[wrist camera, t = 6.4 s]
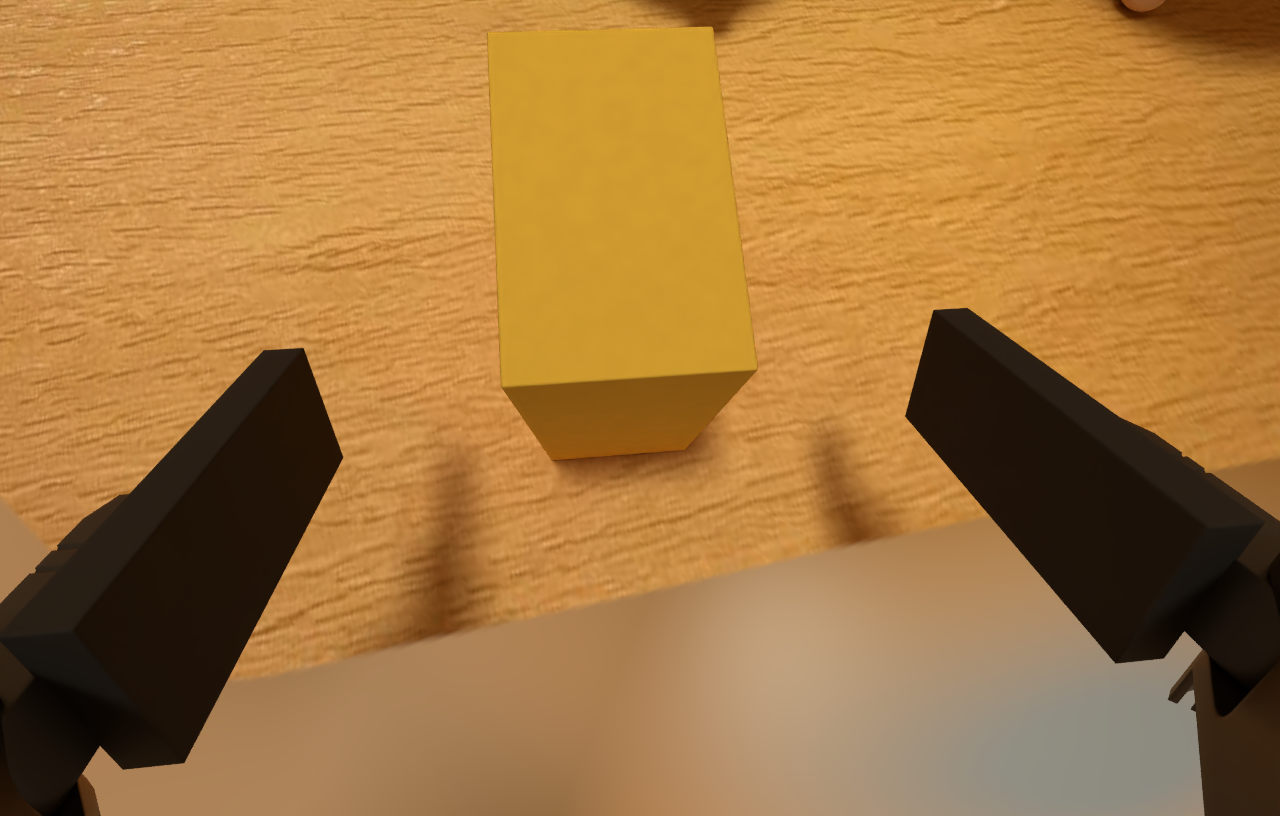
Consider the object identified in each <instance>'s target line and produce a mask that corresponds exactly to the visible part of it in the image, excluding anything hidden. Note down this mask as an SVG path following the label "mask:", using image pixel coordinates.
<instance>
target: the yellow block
mask: <svg viewBox="0 0 1280 816" xmlns="http://www.w3.org/2000/svg"><path fill="white" fill-rule="evenodd" d="M487 47H488V72H489V97H490V123H491V148H492V173H493V198H494V224H495V249H496V274H497V299H498V325H499V350H500V375H501V387H502V388H503V390H504V391H505V393H506V394H507V396H508V397H509V399H510V400H511V402H512V403H513V404H514V406H515V407H516V409H517V410H518V412H519V413H520V415H521V416H522V418H523V419H524V420H525V422H526V423H527V425H528V426H529V428H530V429H531V431H532V432H533V434H534V435H535V436H536V438H537V439H538V441H539V442H540V444H541V445H542V447H543V448H544V450H545V451H546V452H547V454H548V455H549V457H550V458H551V460H562V459H575V458H588V457H600V456H613V455H626V454H639V453H651V452H664V451H677V450H685V449H686V448H687V447H688V446H689V445H690V443H691V442H692V441H693V440H694V439H695V438H696V437H697V436H698V435H699V434H700V432H701V431H702V430H703V429H704V428H705V427H706V426H707V425H708V424H709V423H710V421H711V420H712V419H713V418H714V417H715V416H716V415H717V414H718V413H719V412H720V410H721V409H722V408H723V407H724V406H725V405H726V404H727V403H728V402H729V401H730V399H731V398H732V397H733V396H734V395H735V394H736V393H737V392H738V391H739V390H740V388H741V387H742V386H743V385H744V384H745V383H746V382H747V381H748V380H749V379H750V377H751V376H752V375H753V374H754V373H755V372H756V371H757V369H758V365H757V357H756V350H755V342H754V335H753V327H752V319H751V312H750V304H749V297H748V289H747V282H746V274H745V266H744V259H743V251H742V244H741V236H740V228H739V221H738V213H737V206H736V198H735V191H734V183H733V175H732V168H731V160H730V153H729V145H728V138H727V130H726V122H725V115H724V107H723V100H722V92H721V84H720V77H719V69H718V62H717V54H716V47H715V39H714V31H713V27H678V28H639V29H599V30H560V31H521V32H489V33H488V34H487Z"/></svg>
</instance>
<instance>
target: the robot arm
mask: <svg viewBox="0 0 1280 816" xmlns="http://www.w3.org/2000/svg"><path fill="white" fill-rule="evenodd" d="M905 417H906V418H907V419H908V420H909V421H910V423H911V424H912V425H913V426H914V427H915V428H916V430H917V431H918V432H919V433H920V434H921V436H922V437H923V438H924V439H925V440H926V441H927V443H928V444H929V445H930V446H931V447H932V448H933V450H934V451H935V452H936V453H937V454H938V455H939V457H940V458H941V459H942V460H943V461H944V463H945V464H946V465H947V466H948V467H949V468H950V470H951V471H952V472H953V473H954V474H955V475H956V477H957V478H958V479H959V480H960V481H961V483H962V484H963V485H964V486H965V487H966V488H967V490H968V491H969V492H970V493H971V494H972V495H973V497H974V498H975V499H976V500H977V501H978V503H979V504H980V505H981V506H982V507H983V508H984V510H985V511H986V512H987V513H988V514H989V515H990V517H991V518H992V519H993V520H994V521H995V522H996V524H997V525H998V526H999V527H1000V528H1001V530H1002V531H1003V532H1004V533H1005V534H1006V535H1007V537H1008V538H1009V539H1010V540H1011V541H1012V542H1013V544H1014V545H1015V546H1016V547H1017V548H1018V549H1019V551H1020V552H1021V553H1022V554H1023V555H1024V556H1025V558H1026V559H1027V560H1028V561H1029V562H1030V564H1031V565H1032V566H1033V567H1034V568H1035V569H1036V571H1037V572H1038V573H1039V574H1040V575H1041V577H1042V578H1043V579H1044V580H1045V581H1046V582H1047V584H1048V585H1049V586H1050V587H1051V588H1052V589H1053V591H1054V592H1055V593H1056V594H1057V595H1058V597H1059V598H1060V599H1061V600H1062V601H1063V602H1064V604H1065V605H1066V606H1067V607H1068V608H1069V609H1070V611H1071V612H1072V613H1073V614H1074V615H1075V616H1076V617H1077V619H1078V620H1079V621H1080V622H1081V624H1082V625H1083V626H1084V627H1085V628H1086V629H1087V630H1088V632H1089V633H1090V634H1091V635H1092V636H1093V638H1094V639H1095V640H1096V641H1097V642H1098V644H1099V645H1100V646H1101V647H1102V648H1103V649H1104V651H1106V653H1107V654H1108V655H1109V656H1110V658H1111V659H1112V660H1113V661H1114V662H1115V663H1126V662H1135V661H1144V660H1154V659H1163V658H1164V657H1165V656H1166V655H1167V653H1168V652H1169V651H1170V649H1171V648H1172V647H1173V645H1174V644H1175V643H1176V641H1177V640H1178V639H1179V637H1180V636H1181V635H1182V633H1183V632H1184V631H1185V632H1186V633H1187V634H1188V635H1189V636H1190V637H1191V638H1192V639H1193V640H1194V641H1196V643H1197V644H1198V645H1200V647H1201V648H1202V649H1203V650H1202V651H1201V652H1200V653H1199V655H1198V656H1197V657H1196V658H1195V660H1194V661H1193V662H1192V663H1191V665H1190V666H1189V667H1188V669H1187V670H1186V671H1185V672H1184V674H1183V675H1182V676H1181V678H1180V679H1179V680H1178V681H1177V682H1176V684H1175V685H1174V686H1173V687H1172V689H1171V691H1170V695H1169V698H1168V700H1170V701H1172V702H1175V703H1178V702H1179V701H1180V700H1181V698H1182V697H1183V696H1184V695H1185V694H1186V692H1188V691H1191V690H1194V694H1195V704H1194V705H1193V706H1192V708H1191V710H1193V711H1195V712H1196V718H1197V729H1198V742H1199V754H1200V765H1201V777H1202V789H1203V801H1204V812H1205V816H1280V521H1278V520H1277V519H1275V518H1274V517H1273V516H1271V515H1270V514H1268V513H1267V512H1266V511H1264V510H1263V509H1261V508H1260V507H1259V506H1257V505H1256V504H1254V503H1253V502H1251V501H1250V500H1249V499H1247V498H1246V497H1244V496H1243V495H1241V494H1240V493H1239V492H1237V491H1236V490H1234V489H1233V488H1232V487H1230V486H1229V485H1227V484H1226V483H1224V482H1223V481H1222V480H1220V479H1219V478H1217V477H1216V476H1214V475H1213V474H1212V473H1205V471H1204V470H1205V469H1204V468H1203V467H1202V466H1200V465H1199V464H1197V463H1196V462H1195V461H1193V460H1192V459H1190V458H1189V457H1183V456H1182V452H1180V451H1179V450H1177V449H1176V448H1175V447H1173V446H1172V445H1170V444H1169V443H1168V442H1166V441H1165V440H1163V439H1162V438H1160V437H1159V436H1158V435H1156V434H1155V433H1153V432H1151V431H1148V430H1146V429H1144V428H1142V427H1140V426H1137V425H1135V424H1133V423H1131V422H1129V421H1127V420H1124V419H1122V418H1120V417H1118V416H1117V415H1116V414H1114V413H1113V412H1111V411H1110V410H1109V409H1107V408H1106V407H1105V406H1103V405H1102V404H1100V403H1099V402H1098V401H1096V400H1095V399H1093V398H1092V397H1091V396H1089V395H1088V394H1086V393H1085V392H1084V391H1082V390H1081V389H1079V388H1078V387H1077V386H1075V385H1074V384H1073V383H1071V382H1070V381H1068V380H1067V379H1066V378H1064V377H1063V376H1061V375H1060V374H1059V373H1057V372H1056V371H1054V370H1053V369H1052V368H1050V367H1049V366H1047V365H1046V364H1045V363H1043V362H1042V361H1040V360H1039V359H1038V358H1036V357H1035V356H1034V355H1032V354H1031V353H1029V352H1028V351H1027V350H1025V349H1024V348H1022V347H1021V346H1020V345H1018V344H1017V343H1015V342H1014V341H1013V340H1011V339H1010V338H1008V337H1007V336H1006V335H1004V334H1003V333H1002V332H1000V331H999V330H997V329H996V328H995V327H993V326H992V325H990V324H989V323H988V322H986V321H985V320H983V319H982V318H981V317H979V316H978V315H976V314H975V313H974V312H972V311H971V310H970V309H968V308H959V309H942V310H933V314H932V317H931V321H930V325H929V329H928V333H927V336H926V340H925V344H924V348H923V351H922V355H921V359H920V363H919V366H918V370H917V374H916V378H915V381H914V385H913V389H912V393H911V396H910V400H909V404H908V408H907V411H906V415H905ZM342 459H343V455H342V453H341V450H340V447H339V444H338V442H337V439H336V436H335V433H334V431H333V428H332V425H331V422H330V420H329V417H328V414H327V411H326V409H325V406H324V403H323V400H322V398H321V395H320V392H319V389H318V387H317V384H316V381H315V378H314V376H313V373H312V370H311V367H310V365H309V362H308V359H307V356H306V354H305V351H304V348H296V349H279V350H264V351H263V352H262V353H261V354H260V355H259V356H258V357H257V358H256V359H255V360H254V361H253V362H252V363H251V365H250V366H249V367H248V368H247V369H246V370H245V371H244V372H243V373H242V374H241V375H240V376H239V377H238V378H237V379H236V381H235V382H234V383H233V384H232V385H231V386H230V387H229V388H228V389H227V390H226V391H225V392H224V393H223V394H222V396H221V397H220V398H219V399H218V400H217V401H216V402H215V403H214V404H213V405H212V406H211V407H210V408H209V409H208V411H207V412H206V413H205V414H204V415H203V416H202V417H201V418H200V419H199V420H198V421H197V422H196V423H195V424H194V426H193V427H192V428H191V429H190V430H189V431H188V432H187V433H186V434H185V435H184V436H183V437H182V438H181V439H180V441H179V442H178V443H177V444H176V445H175V446H174V447H173V448H172V449H171V450H170V451H169V452H168V453H167V454H166V456H165V457H164V458H163V459H162V460H161V461H160V462H159V463H158V464H157V465H156V466H155V467H154V468H153V469H152V471H151V472H150V473H149V474H148V475H147V476H146V477H145V478H144V479H143V480H142V481H141V482H140V483H139V484H138V486H137V487H136V488H135V489H134V490H133V491H132V492H131V493H130V494H125V495H119V496H117V497H116V498H114V499H113V500H111V501H110V502H108V503H107V504H105V505H104V506H102V507H100V508H99V509H97V510H96V511H94V512H93V513H91V514H90V515H88V516H87V517H85V518H84V519H83V520H82V521H81V522H80V523H79V524H78V525H77V526H76V527H75V528H74V529H73V530H72V531H71V532H70V533H69V534H68V535H67V536H66V537H65V538H64V539H63V540H62V541H61V542H60V543H59V544H58V545H57V546H58V549H57V550H56V551H51V552H50V553H49V554H48V555H47V556H46V557H45V558H44V559H43V560H42V562H41V563H40V564H39V565H38V566H37V567H36V568H35V569H36V572H35V573H33V574H29V575H28V576H27V577H26V578H25V579H24V580H23V581H22V582H21V583H20V584H19V585H18V586H17V587H16V588H15V589H14V590H13V591H12V592H11V593H10V594H9V595H8V596H7V597H6V598H5V599H4V600H3V601H2V602H1V604H0V816H101V815H100V811H99V807H98V803H97V799H96V794H95V790H94V788H93V787H92V785H91V784H90V782H89V781H88V780H87V778H86V777H85V776H84V775H83V774H82V772H83V771H84V769H85V768H86V766H87V765H88V763H89V762H90V760H91V758H92V757H93V756H94V754H95V752H96V751H97V749H98V748H99V746H101V747H102V748H103V749H104V750H105V751H106V752H107V754H108V755H109V756H110V757H111V758H112V759H113V760H114V761H115V762H116V763H117V764H118V765H119V766H120V767H121V768H122V769H123V770H124V769H134V768H143V767H152V766H162V765H171V764H180V763H185V761H186V759H187V757H188V755H189V753H190V751H191V749H192V747H193V745H194V743H195V741H196V739H197V737H198V736H199V734H200V732H201V730H202V728H203V726H204V724H205V722H206V720H207V718H208V716H209V715H210V713H211V711H212V709H213V707H214V705H215V703H216V701H217V699H218V697H219V695H220V693H221V691H222V690H223V688H224V686H225V684H226V682H227V680H228V678H229V676H230V674H231V672H232V670H233V668H234V667H235V665H236V663H237V661H238V659H239V657H240V655H241V653H242V651H243V649H244V647H245V645H246V643H247V642H248V640H249V638H250V636H251V634H252V632H253V630H254V628H255V626H256V624H257V622H258V620H259V619H260V617H261V615H262V613H263V611H264V609H265V607H266V605H267V603H268V601H269V599H270V597H271V595H272V594H273V592H274V590H275V588H276V586H277V584H278V582H279V580H280V578H281V576H282V574H283V572H284V571H285V569H286V567H287V565H288V563H289V561H290V559H291V557H292V555H293V553H294V551H295V549H296V547H297V546H298V544H299V542H300V540H301V538H302V536H303V534H304V532H305V530H306V528H307V526H308V524H309V522H310V521H311V519H312V517H313V515H314V513H315V511H316V509H317V507H318V505H319V503H320V501H321V499H322V498H323V496H324V494H325V492H326V490H327V488H328V486H329V484H330V482H331V480H332V478H333V476H334V474H335V473H336V471H337V469H338V467H339V465H340V463H341V461H342Z"/></svg>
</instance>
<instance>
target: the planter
mask: <svg viewBox="0 0 1280 816" xmlns="http://www.w3.org/2000/svg"><path fill="white" fill-rule="evenodd" d="M1165 1H1166V0H1122V2H1123V4H1124V5H1125V6H1126V7H1127V8H1129V9H1131V10H1133V11H1138V12H1145V11H1150V10H1152V9H1155V8H1157V7H1158V6H1160V5H1161V4H1163V3H1164V2H1165Z"/></svg>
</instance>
